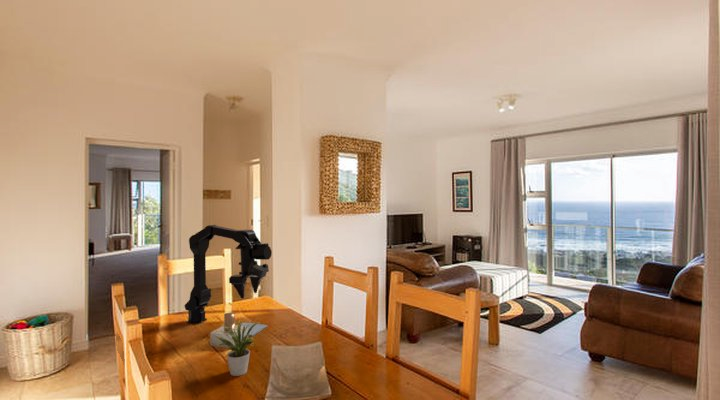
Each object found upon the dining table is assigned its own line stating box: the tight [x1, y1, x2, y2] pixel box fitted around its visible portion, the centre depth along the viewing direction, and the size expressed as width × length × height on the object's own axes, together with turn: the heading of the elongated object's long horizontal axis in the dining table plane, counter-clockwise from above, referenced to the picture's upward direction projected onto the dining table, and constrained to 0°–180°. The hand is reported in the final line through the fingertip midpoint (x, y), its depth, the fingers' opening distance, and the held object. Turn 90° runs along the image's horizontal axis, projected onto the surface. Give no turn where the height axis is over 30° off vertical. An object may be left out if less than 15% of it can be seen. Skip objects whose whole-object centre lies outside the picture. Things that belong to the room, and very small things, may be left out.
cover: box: [209, 312, 249, 349], centre depth 147 cm, size 10×10×11 cm
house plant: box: [215, 319, 260, 377], centre depth 123 cm, size 14×14×16 cm
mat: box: [241, 322, 269, 337], centre depth 161 cm, size 12×12×1 cm
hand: (249, 295), depth 161 cm, fingers open, 9 cm apart
